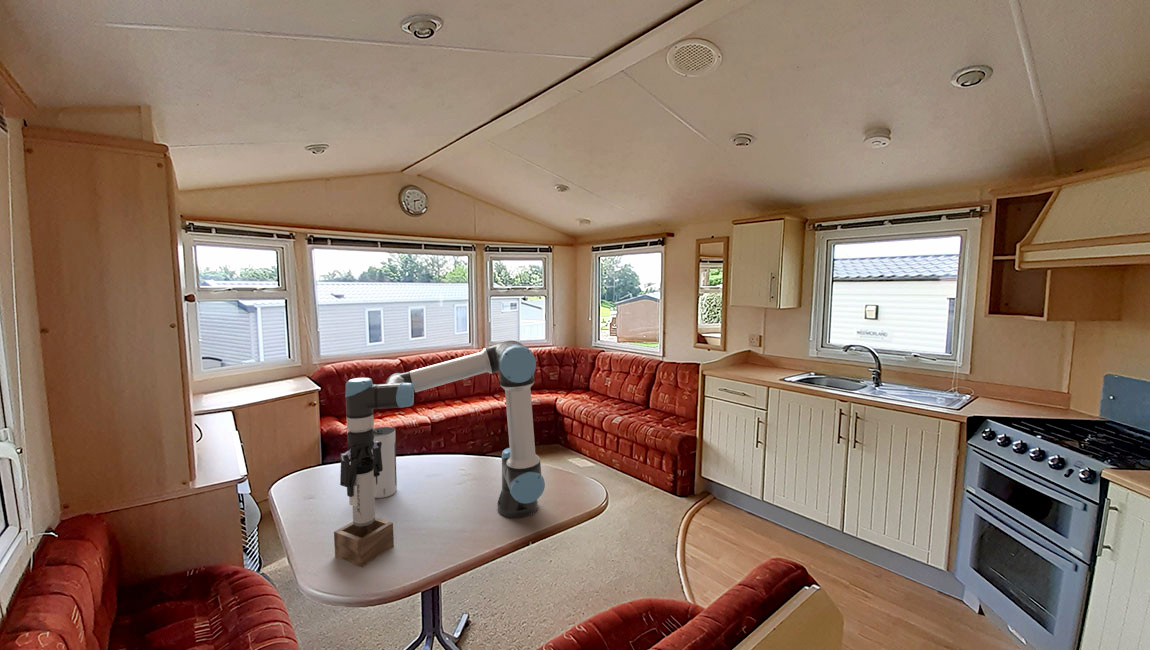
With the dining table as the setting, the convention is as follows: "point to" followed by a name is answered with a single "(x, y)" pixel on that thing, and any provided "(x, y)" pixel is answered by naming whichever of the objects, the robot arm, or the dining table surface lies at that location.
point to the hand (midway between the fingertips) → (363, 500)
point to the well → (363, 541)
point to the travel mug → (364, 494)
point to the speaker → (386, 462)
